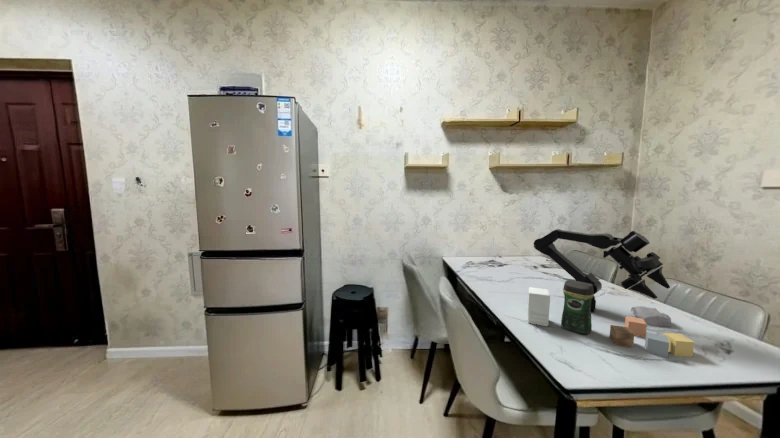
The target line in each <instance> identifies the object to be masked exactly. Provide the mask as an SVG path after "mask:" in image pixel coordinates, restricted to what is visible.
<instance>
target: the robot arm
mask: <svg viewBox="0 0 780 438" xmlns="http://www.w3.org/2000/svg"><path fill="white" fill-rule="evenodd" d="M558 239H560V240H566V241H571V242H577V243H583V244H584V243H585V244H587V245H590V246H592V247H594V248H597V249H601V250H603V251H602V252H603V253H602V254H603V255H602V256H603V259H606V258H608V257H610V258H611V259H612V260H613V261H615V262H616V263H617V264H618V265H619V269H620V270H625V271H626V272H627V273H628V277H627V278H625V279H624V280H623V281H621V282H620V284H621V287H623V288H624V290H629V291H630V290H632V291H634V292H637V293H640V294H642V295H645V296H647V297H649V298H652V299H654V300H655V299H657V298H658V296H657V295H656V293H655V292H654V291H652V290H651V288H649V287H648V285H647V284H646V279H643V277H644V276H645V275H646V277H647V278H649V279H650V280H652V281H654V282H656V284H659V285H660V286H662V287H664V288H665V289H667V290H668V289H670V288H671V286H670V285H669V282H668V281H667V279H666V278H665V277H664V275H663V270H662V269H663V268H664V267H663V263H662V262H661V260H660V259H661V257H660V256H658V255H657V254H656V253H655V252H653V251H652V252H651V251H650V252H648V253H647V254H646V256H645V257H642V258H641V257H639V256H637V255H636V256H634V255H633V254H632V252H633V253H638V252H639V251H641V250H642V249H644V248H645V247H647V246H648V245H650V244H651V243H650V241H649V239H647V237H645V236H644V235H642V234H640V233H638V232H637V231H635V230H631V231H630V232H629V233H628V234H627V235H625V236H624V237H623V238H622V237H621V238H620V237H615V236H613V235H612V234H610V233H585V232H576V231H572V230H570V231H569V230H563V229H561V228H557V229H553V230H552V231H551V232H549V233H548V234H546V235H544V236H543V237H540V238H537V239H534V242H533V248H534V249H535V250H537V251H538V252H539V253H541V254H543V255H545V256H547V257H549V258H550V259H552V261H554V262H555V263H556V264H557V265H558V266H560V267H561V268H562V269H563V270H564V271H565V272H566V273H567V274H568V275H570V276H571V277H572V278H573V280H575V281H580V282H585V283H590V284H593V288H594V296H593V298H592V300H591V313H595V310H596V304H597V300H596V297H595V295H596V294H597V293H599V292H600V291H601V290H602V288H603V286H602V283H601V281H600V278H598V277H596V275H594V274H593V273H592V272H589V273H586V272H583V270H581V268H579V267H578V266H576V265H575V264H574V263H573V262H572V261H571V260H570V259H568V258H567V257H566V256H565V254H562V253H561V252H560V251H559V250H558V249H557V247H556V245H555V244H554V243H555V242H556V241H557V240H558ZM617 245H619V246H617ZM616 246H617V247H616ZM606 249H608V250H606Z"/></svg>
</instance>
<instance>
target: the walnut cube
mask: <svg viewBox="0 0 780 438" xmlns="http://www.w3.org/2000/svg"><path fill="white" fill-rule="evenodd" d="M609 339H610V341H611V342H612V343H613V345H614V346H619V347H625V348H631V349H633V348H634V343H635V335H634V333H633V332H632V331H631V330H630V329H629V328H628V327H625V325H623V326H622V325H616V324H615V325H614V324H610V327H609Z"/></svg>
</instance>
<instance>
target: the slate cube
mask: <svg viewBox="0 0 780 438" xmlns="http://www.w3.org/2000/svg"><path fill="white" fill-rule="evenodd" d="M644 347H645V351H646V353H649V354H652V355H656V356H660V357H664V358H669V357H668V356H669V351H668V350H669V341H668V338H667V336H664V334H663V335H662V334H658V333H654V332H649V331H646V336H645V341H644Z"/></svg>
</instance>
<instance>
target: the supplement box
mask: <svg viewBox="0 0 780 438" xmlns="http://www.w3.org/2000/svg"><path fill="white" fill-rule="evenodd" d="M527 300H528V302H527V315H526V316H527V324H530V323H531V324H532V325H536V324H537V326H541V327H542V326H544V327H549V319H550V303H551V294H550V292H549V289H548V288H547V289H545V288H539V287H530V286H529V287H528V299H527Z"/></svg>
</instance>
